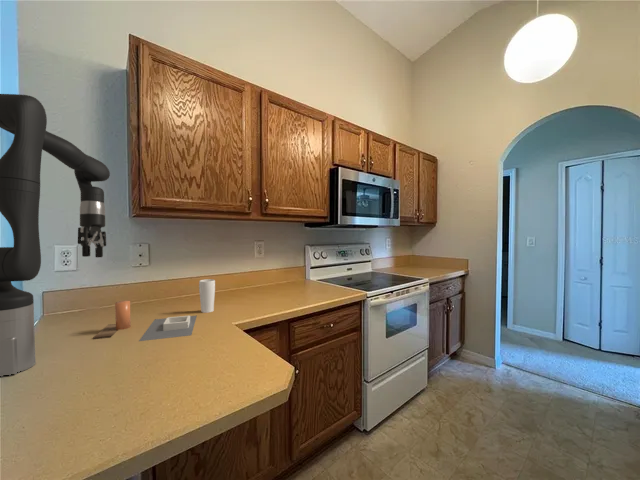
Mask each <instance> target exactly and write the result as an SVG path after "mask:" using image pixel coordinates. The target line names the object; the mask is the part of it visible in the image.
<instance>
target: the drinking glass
mask: <svg viewBox="0 0 640 480" xmlns="http://www.w3.org/2000/svg"><path fill="white" fill-rule="evenodd" d="M198 284H199V285H198V289H199V290H198V291H199V299H200V300H199V302H200V311H201V312H200V313H204V314H207V313H212V312H214V311H215V295H216V280H215V279H210V278H209V279H200V280H199V281H198Z"/></svg>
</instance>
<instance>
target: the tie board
mask: <svg viewBox="0 0 640 480" xmlns="http://www.w3.org/2000/svg"><path fill="white" fill-rule="evenodd" d="M196 320H197V315H183V316H168V317H166V318H155V319H154V320H153V321H152V322H151V324H150V325H149V326H148V328H147V329H146V331H145V332H144V333H143V335H142V336H141V337H140V339H139V340H138V342H144V341H145V342H146V341H152V340H162V339H171V338H179V337H189V336H192V335H193V331H194V327H195V323H196Z"/></svg>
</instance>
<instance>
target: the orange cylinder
mask: <svg viewBox="0 0 640 480" xmlns="http://www.w3.org/2000/svg"><path fill="white" fill-rule="evenodd" d="M114 306H115V308H114V309H115V311H114V312H115V313H114V314H115V324H116V330H118V331H120V330H127V329H129V328H131V325H132V324H131V322H132V321H131V300H118V301H116V302H115V303H114Z"/></svg>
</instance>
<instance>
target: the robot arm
mask: <svg viewBox="0 0 640 480" xmlns="http://www.w3.org/2000/svg"><path fill="white" fill-rule="evenodd" d="M47 119H48V118H47V113H46V109H45V107H44V106H43V104H42V102H41V101H40V100H39V99H37V98H36V97H34V96H31V95H28V94H18V93H17V94H16V93H14V94H13V93H12V94H11V93H0V129H2V130H5V131H6V132H8V133H10V134H13V135H14V136H13V138H12V139H13V140H12V142H11V144H10V146H9V148H8V149H7V151H6V152H5V153H4V154H3V155H2V156H1V157H0V214H1V215H2V216H3V217H4V218H5V220H6V221H7V223H8V224H9V226H10V227H11V231H12V235H13V246H6V247H5V246H2V247H0V376H1V377H4V376H3V375H9V376H12V375H11V374H15V375H17V374H18V373H21V372H23V371H26V370H28V369H30V368H32V367H34V365H36V340H35V339H36V338H35V337H36V335H35V333H36V332H35V310H34V309H35V308H34V307H35V303H34V295H33V294H32V293H31V292H29V291H25V290H21V289H20V288H17V287H16V286H14V285H13V283H12V282H26V281H27V282H28V281H32V280H34V279H35V278H36V277H37V276H38V274H39V272H40V270H41V266H42V256H41V255H42V254H41V251H42V250H41V243H40V242H41V240H40V228H39V227H40V226H39V222H40V221H39V219H40V217H39V216H40V212H39V211H40V201H41V200H40V198H41V164H42V155H43V154H42V153H43V151H44V152H46V153H47V154H49V155H51V156H52V157H53V158H55V159H57V160H58V161H59V162H61V164H64V165H65V166H66V167H68V168H70V169H71V170H74V171H73V172H74V176H75V179H76V181H77V185H78V187H79V192H80V206H79V227H77V244H78V245H80V246H81V253H82V257H85V258H86V257H88V258H89V257H91V244H94V247H95V251H94V252H95V254H94V255H95V256H94V257H95V258H103V256H104V248H105V247H107V232H106V231H105V230H104V231H102V228H105V227H106V206H105V192H104V191H105V190H104V189H103V188H101V187H99V186H93V184H92V182H93V183H94V182H105V181H107V180H108V179H109V178H110V176H111V173H110V170H109V168H108V167H107V165H106V164H105V163H103V162H102V161H100V160H98V159H96V158H94V157H92V156H90V155H88V154H86V153H85V152H84V151H82V150H81V149H80V148H79V147H77V146H76V145H75V144H74V143H72V142H70V141H69V140H68V139H65V138H63V137H61V136H59V135H56V134H54V133H52V132H49V131H47V124H48V122H47V121H48V120H47ZM20 371H21V372H20ZM17 372H18V373H17Z"/></svg>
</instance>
